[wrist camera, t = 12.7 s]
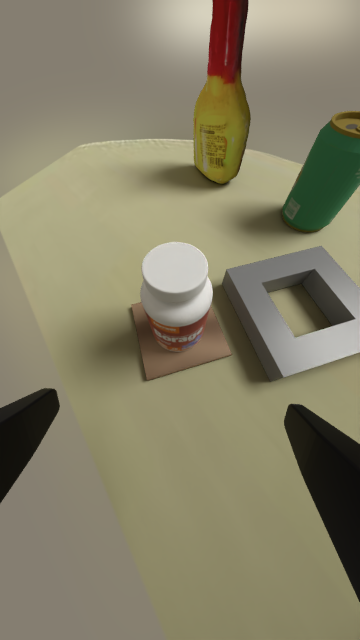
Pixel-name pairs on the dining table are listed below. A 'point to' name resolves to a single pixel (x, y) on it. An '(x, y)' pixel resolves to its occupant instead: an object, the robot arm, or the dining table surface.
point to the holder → (271, 329)
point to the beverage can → (326, 175)
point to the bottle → (223, 97)
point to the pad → (170, 362)
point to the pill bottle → (176, 294)
